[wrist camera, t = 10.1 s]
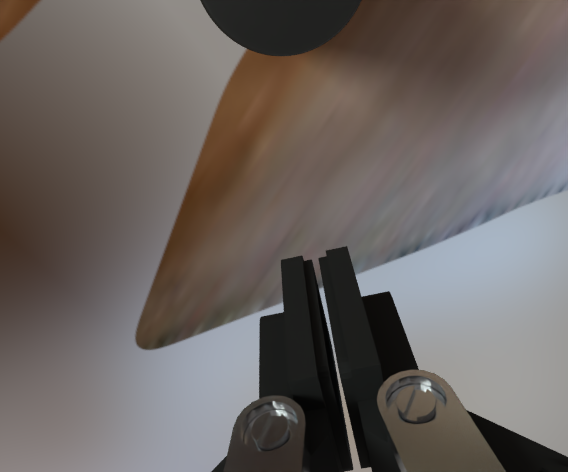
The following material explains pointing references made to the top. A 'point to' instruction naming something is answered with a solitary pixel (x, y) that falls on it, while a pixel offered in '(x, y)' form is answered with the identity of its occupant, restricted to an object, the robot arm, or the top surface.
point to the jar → (281, 23)
